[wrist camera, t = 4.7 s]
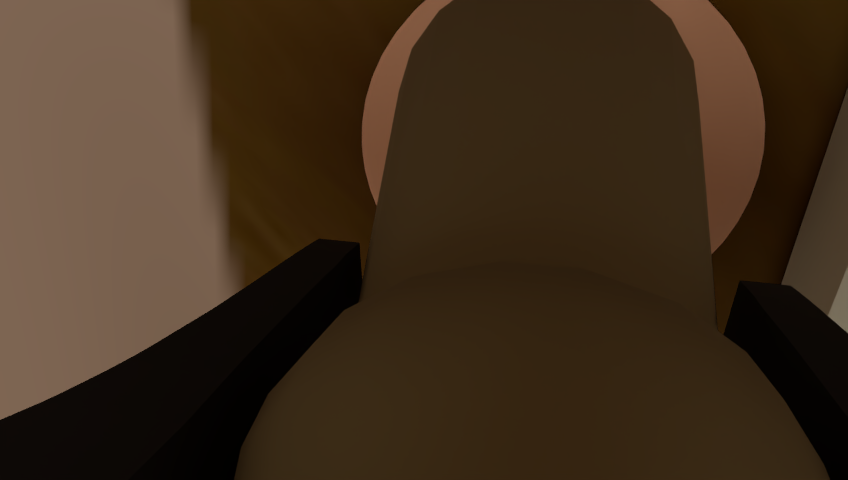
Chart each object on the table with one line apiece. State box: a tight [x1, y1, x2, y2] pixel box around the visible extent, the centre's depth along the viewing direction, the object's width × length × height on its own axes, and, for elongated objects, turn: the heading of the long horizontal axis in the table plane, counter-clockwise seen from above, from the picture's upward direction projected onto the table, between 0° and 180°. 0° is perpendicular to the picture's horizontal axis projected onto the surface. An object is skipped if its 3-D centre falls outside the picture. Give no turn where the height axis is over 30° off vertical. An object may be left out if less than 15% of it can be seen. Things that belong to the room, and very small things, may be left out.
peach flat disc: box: [362, 0, 765, 255], centre depth 14 cm, size 8×8×1 cm
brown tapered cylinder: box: [234, 0, 830, 480], centre depth 9 cm, size 6×6×11 cm
